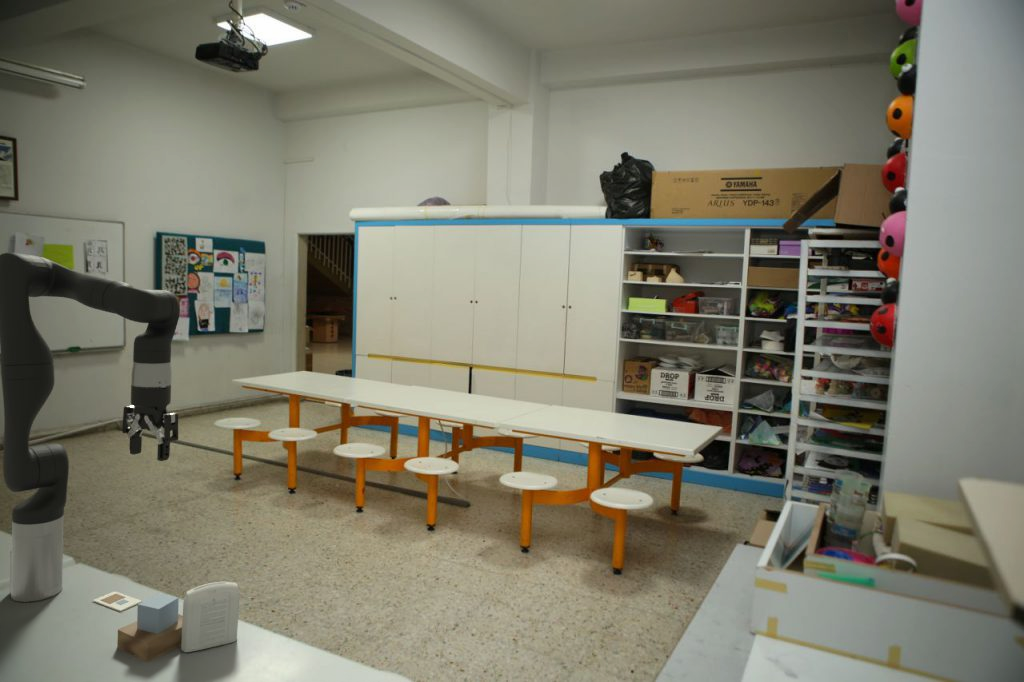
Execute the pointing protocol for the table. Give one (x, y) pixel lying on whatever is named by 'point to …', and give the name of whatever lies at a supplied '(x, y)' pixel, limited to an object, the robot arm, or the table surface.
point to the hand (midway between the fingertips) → (149, 457)
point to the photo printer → (210, 616)
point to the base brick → (149, 640)
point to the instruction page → (117, 601)
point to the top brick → (157, 613)
